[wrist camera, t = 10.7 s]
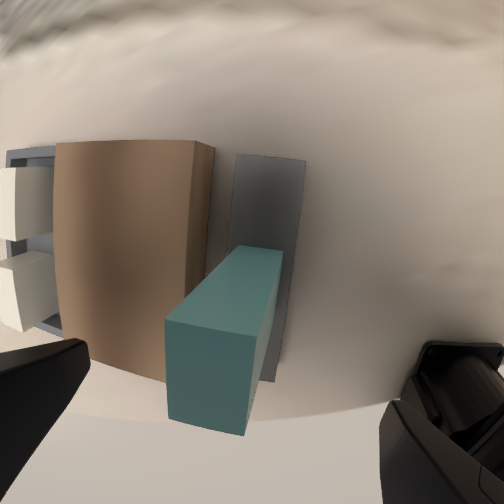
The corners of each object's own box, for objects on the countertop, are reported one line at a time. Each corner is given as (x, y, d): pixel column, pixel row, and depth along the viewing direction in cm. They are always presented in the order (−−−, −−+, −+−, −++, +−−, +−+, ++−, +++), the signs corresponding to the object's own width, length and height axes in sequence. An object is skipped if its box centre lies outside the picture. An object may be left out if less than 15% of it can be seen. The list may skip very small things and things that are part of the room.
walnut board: (214, 147, 15) (194, 140, 12) (200, 359, 18) (183, 387, 15) (89, 146, 16) (56, 143, 13) (91, 329, 19) (65, 349, 16)
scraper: (305, 163, 15) (309, 131, 5) (277, 362, 17) (248, 509, 8) (244, 157, 15) (152, 123, 6) (226, 354, 18) (162, 488, 8)
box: (85, 146, 16) (64, 144, 14) (88, 328, 19) (71, 341, 17) (26, 150, 17) (6, 150, 15) (32, 309, 20) (16, 318, 18)
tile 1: (15, 167, 13) (-7, 168, 13) (15, 241, 14) (-7, 236, 14) (62, 166, 16) (37, 166, 17) (60, 229, 17) (36, 225, 18)
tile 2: (12, 270, 14) (-9, 264, 14) (23, 332, 15) (1, 322, 15) (54, 254, 18) (32, 250, 18) (60, 310, 19) (38, 302, 19)
